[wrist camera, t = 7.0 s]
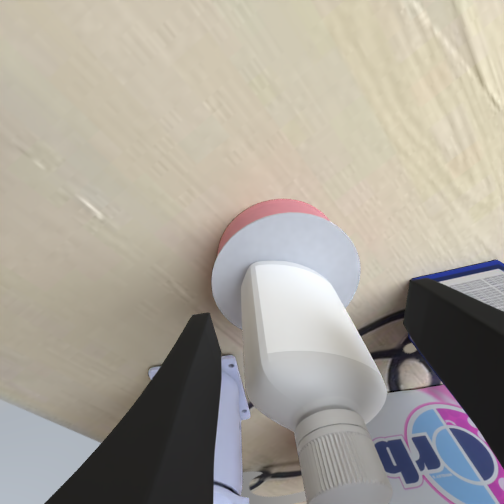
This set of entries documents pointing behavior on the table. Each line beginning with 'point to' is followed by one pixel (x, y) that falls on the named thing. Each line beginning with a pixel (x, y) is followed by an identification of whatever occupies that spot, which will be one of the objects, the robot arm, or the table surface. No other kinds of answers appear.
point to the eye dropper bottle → (314, 380)
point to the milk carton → (474, 285)
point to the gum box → (434, 450)
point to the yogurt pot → (282, 250)
